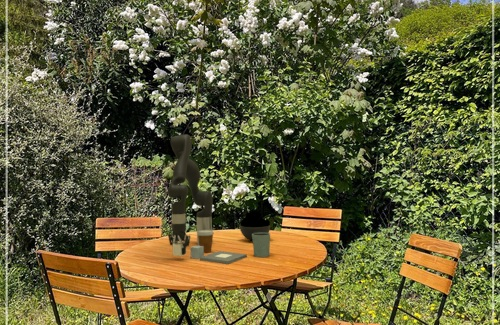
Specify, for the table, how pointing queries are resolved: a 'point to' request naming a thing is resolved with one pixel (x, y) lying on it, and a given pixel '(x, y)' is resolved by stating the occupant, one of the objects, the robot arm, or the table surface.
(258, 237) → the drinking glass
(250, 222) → the coal bowl
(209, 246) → the disposable coffee cup
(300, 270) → the table surface
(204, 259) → the board
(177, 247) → the cream block
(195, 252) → the blue grey block
